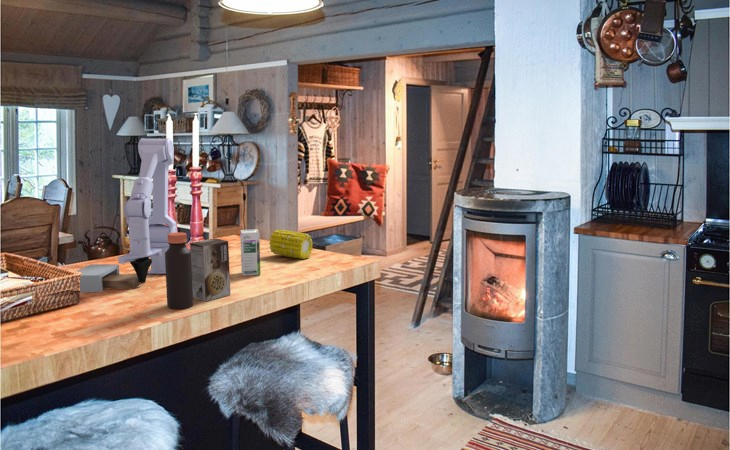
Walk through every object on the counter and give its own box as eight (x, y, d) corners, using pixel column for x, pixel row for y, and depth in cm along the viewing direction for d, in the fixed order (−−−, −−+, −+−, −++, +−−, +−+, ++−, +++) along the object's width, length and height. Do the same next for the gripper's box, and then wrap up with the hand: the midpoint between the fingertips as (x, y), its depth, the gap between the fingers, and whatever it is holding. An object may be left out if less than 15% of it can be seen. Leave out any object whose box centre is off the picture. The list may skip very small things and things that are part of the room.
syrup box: (242, 276, 211) (241, 232, 209) (241, 272, 217) (240, 229, 214) (260, 275, 212) (259, 231, 210) (258, 271, 218) (257, 228, 216)
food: (317, 257, 240) (317, 230, 238) (295, 263, 231) (294, 235, 229) (288, 252, 249) (287, 226, 248) (265, 257, 240) (264, 230, 238)
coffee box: (217, 291, 192) (215, 237, 190) (231, 295, 188) (229, 240, 186) (191, 297, 185) (189, 242, 183) (205, 301, 181) (203, 245, 179)
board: (144, 282, 203) (144, 274, 202) (133, 289, 195) (133, 281, 194) (95, 281, 204) (95, 273, 204) (82, 288, 196) (81, 279, 196)
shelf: (119, 279, 206) (118, 264, 205) (100, 292, 191) (99, 275, 190) (91, 279, 206) (90, 264, 205) (70, 291, 191) (68, 275, 191)
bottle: (162, 306, 177) (158, 234, 173) (183, 301, 182) (179, 230, 179) (177, 311, 172) (174, 237, 169) (198, 305, 178) (195, 233, 175)
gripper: (149, 233, 204) (152, 276, 206) (110, 241, 192) (113, 285, 194) (165, 235, 200) (167, 278, 203) (125, 243, 188) (128, 289, 190)
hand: (142, 282), depth 198 cm, fingers closed, pressing on board
